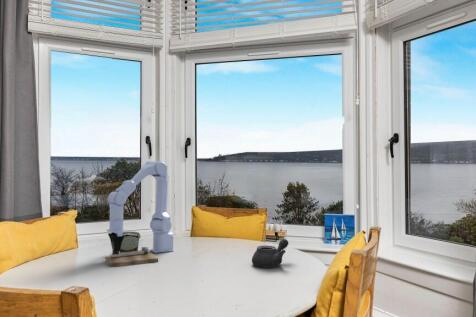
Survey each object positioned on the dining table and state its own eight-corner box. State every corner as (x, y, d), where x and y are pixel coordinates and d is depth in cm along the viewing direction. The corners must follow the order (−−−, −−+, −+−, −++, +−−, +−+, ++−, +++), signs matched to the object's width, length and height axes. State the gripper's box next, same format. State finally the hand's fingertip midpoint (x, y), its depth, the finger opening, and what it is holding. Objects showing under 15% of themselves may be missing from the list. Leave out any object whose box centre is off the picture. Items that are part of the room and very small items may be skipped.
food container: (144, 252, 184) (144, 231, 184) (139, 255, 178) (140, 234, 178) (119, 251, 185) (119, 231, 185) (114, 254, 179) (114, 233, 179)
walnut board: (150, 255, 178) (151, 252, 178) (158, 261, 167) (158, 258, 167) (105, 260, 169) (105, 257, 169) (110, 267, 158) (110, 263, 158)
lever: (147, 251, 178) (147, 237, 178) (149, 253, 175) (149, 238, 175) (110, 256, 169) (110, 240, 169) (112, 257, 166) (112, 241, 166)
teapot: (276, 272, 153) (276, 247, 153) (245, 265, 162) (246, 241, 163) (300, 263, 168) (300, 240, 168) (270, 257, 177) (270, 235, 177)
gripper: (103, 217, 174) (103, 247, 173) (110, 221, 161) (110, 254, 161) (119, 216, 177) (119, 246, 177) (127, 220, 165) (127, 252, 164)
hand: (116, 250), depth 169 cm, fingers open, 4 cm apart
